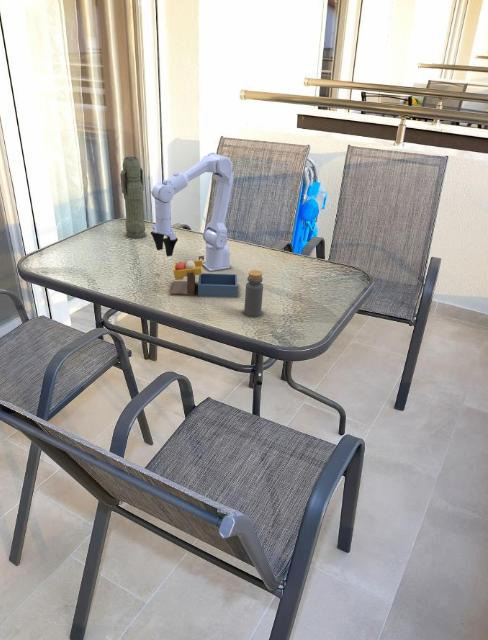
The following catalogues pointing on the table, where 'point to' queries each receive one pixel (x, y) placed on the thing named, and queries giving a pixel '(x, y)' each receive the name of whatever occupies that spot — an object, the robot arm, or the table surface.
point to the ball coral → (180, 266)
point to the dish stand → (184, 286)
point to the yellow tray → (182, 273)
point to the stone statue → (133, 197)
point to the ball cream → (190, 265)
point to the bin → (217, 285)
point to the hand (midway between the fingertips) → (164, 252)
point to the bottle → (254, 294)
